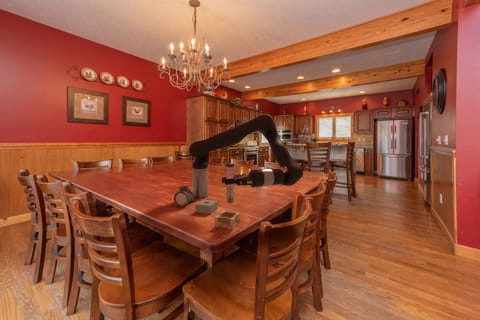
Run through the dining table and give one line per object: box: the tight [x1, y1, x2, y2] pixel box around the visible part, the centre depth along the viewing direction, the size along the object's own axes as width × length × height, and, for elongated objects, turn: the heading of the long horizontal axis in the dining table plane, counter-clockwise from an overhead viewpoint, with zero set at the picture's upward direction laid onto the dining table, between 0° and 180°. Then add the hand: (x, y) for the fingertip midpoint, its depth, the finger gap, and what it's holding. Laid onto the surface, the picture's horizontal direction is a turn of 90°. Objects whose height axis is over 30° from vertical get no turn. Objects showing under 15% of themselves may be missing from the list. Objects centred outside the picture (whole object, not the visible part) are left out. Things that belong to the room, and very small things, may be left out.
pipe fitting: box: [173, 185, 195, 208], centre depth 115 cm, size 12×8×10 cm
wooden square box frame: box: [214, 210, 241, 230], centre depth 87 cm, size 8×8×4 cm
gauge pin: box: [225, 162, 235, 204], centre depth 87 cm, size 3×3×16 cm
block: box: [194, 199, 219, 215], centre depth 104 cm, size 8×8×4 cm
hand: (223, 181), depth 86 cm, fingers closed on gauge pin, 3 cm apart
